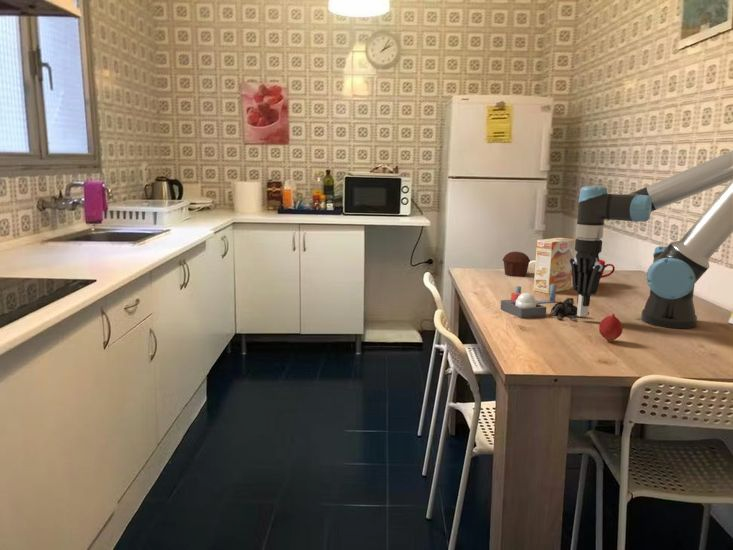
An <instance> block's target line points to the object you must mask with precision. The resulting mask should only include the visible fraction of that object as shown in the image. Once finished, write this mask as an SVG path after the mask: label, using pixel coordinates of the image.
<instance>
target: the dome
mask: <svg viewBox="0 0 733 550" xmlns="http://www.w3.org/2000/svg"><path fill="white" fill-rule="evenodd" d="M537 301H538V300H536V298H535V296H534V295H533V294H532V293H529V292H521V295H519V296H518V298H517V300H516V306H519V307H521V308H530V307H536V304H537Z"/></svg>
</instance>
